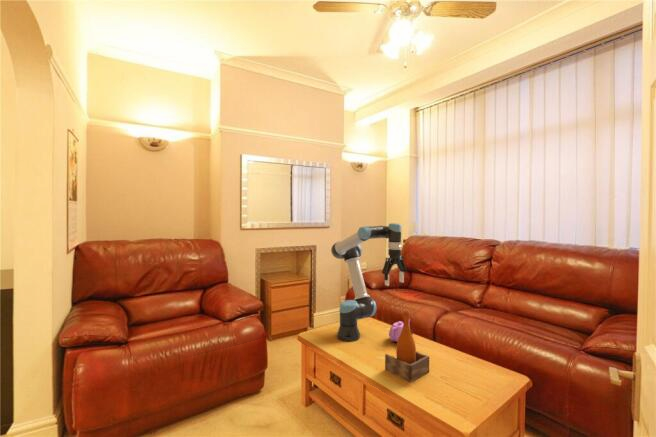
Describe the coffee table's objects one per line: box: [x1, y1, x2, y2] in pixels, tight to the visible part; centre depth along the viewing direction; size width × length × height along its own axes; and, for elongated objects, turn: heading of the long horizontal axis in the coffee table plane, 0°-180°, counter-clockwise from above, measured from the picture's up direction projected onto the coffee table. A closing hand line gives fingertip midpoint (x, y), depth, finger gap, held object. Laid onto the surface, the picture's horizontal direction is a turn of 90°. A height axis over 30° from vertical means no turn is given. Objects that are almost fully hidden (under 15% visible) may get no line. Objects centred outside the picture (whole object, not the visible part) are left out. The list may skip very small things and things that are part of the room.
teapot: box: [388, 317, 411, 343], centre depth 202 cm, size 20×14×12 cm
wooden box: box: [384, 350, 430, 383], centre depth 163 cm, size 16×16×8 cm
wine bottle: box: [396, 310, 417, 364], centre depth 164 cm, size 10×10×30 cm
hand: (394, 283), depth 190 cm, fingers open, 13 cm apart
